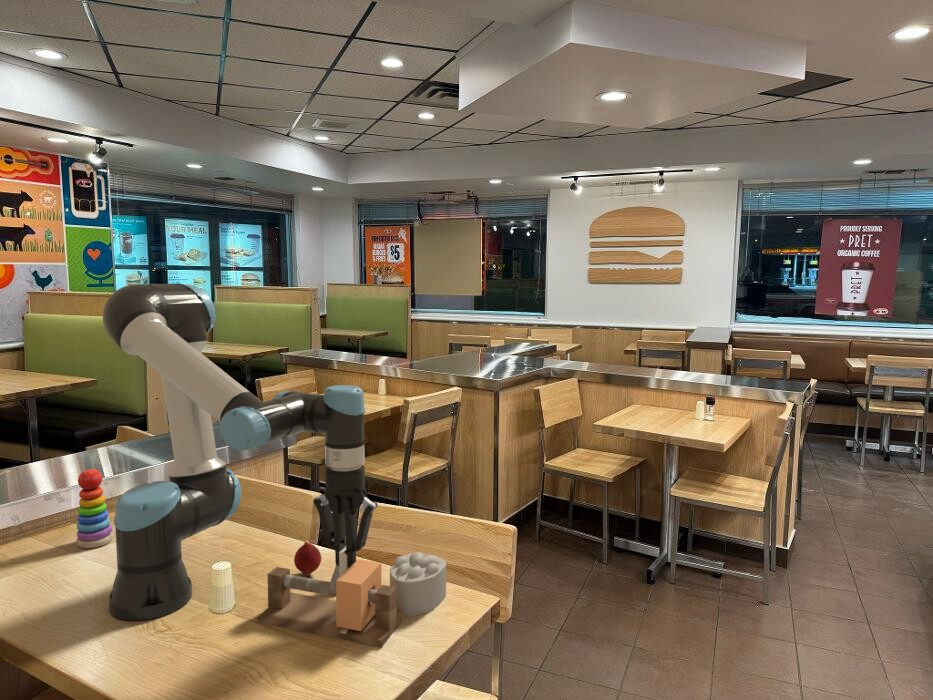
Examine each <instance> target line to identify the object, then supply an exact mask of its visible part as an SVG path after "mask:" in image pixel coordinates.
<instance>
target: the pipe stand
mask: <svg viewBox="0 0 933 700" xmlns="http://www.w3.org/2000/svg"><path fill="white" fill-rule="evenodd" d="M291 590H297V591H302V592H303V591H304V592H307V593H308V592H309V593H312V594H313V593H314V594H318V595H319V594H320V595H325V596H329V597H335V598H336V583H333V582H330V581H327V580H321V579H320V580H319V579H314V578H308V577H305V576H304V577H303V576H297V575H291V570H290V568H286V567H279V566H276V567H274V568H273V569H272V570H271V571H269V572H268V573H267V608H265V610H264V611H262V612H261V613H260V614H259V615H257V623H258V624H264V625H269V626H275V627H278V628H279V627H280V628H283V629H288V630H295V631H298V632H299V631H300V632H303V633H311V634H314V635H319V636H324V637H329V638H334V639H338V638H339V640H343V639H344V641H348V640H349V642H353V641H354V642H353V643H358V644H364V645H367V646H368V645H369V646H374V647H378V646H379V647H378V648H383V646H384V645H385V644H386V643H387V641H388V640H389V639H390V638H391V636H392V635H393V633H394V632H395V630H397V628H398V626H399V625H400V623H401V622H402V621H403V619H404V616H403V613H401V612H396V590H397V587H392V586H390V585H385V584H381V586H380V588H379V589H378V590H374V589H370V590H369V591H368V603H374V604H375V615H374V616H373V617H372V618H371V620H370V621H369V622H368V623H367V624H366V626H365V627H364V628H363V629H362V631H358V630H352V629H347V628H342V627H337V626H336V599H329V598H322V597H317V596H313V595H312V596H311V595H308V594H301V593H297V592H296V593H294V592H291Z"/></svg>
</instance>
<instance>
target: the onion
mask: <svg viewBox="0 0 933 700" xmlns="http://www.w3.org/2000/svg"><path fill="white" fill-rule="evenodd" d="M293 562H294V566H295V568H296V569H297V570H298V571H299V572H300V573H302V574H304V575H305V576H310V575H311V574H312V573H314V572H315V571H317V570H318V568H319V566H320V565H321V563H322V554H321V552H320V550H319V548H318V547H317V546H315V545H314V544H312V543H311V542H309V541H308V540H307V539H306V540H304V544H302V545H301V546H300V547H299V548H298V549H297V550H296V552H295V554H294V557H293Z"/></svg>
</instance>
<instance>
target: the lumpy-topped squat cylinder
mask: <svg viewBox="0 0 933 700" xmlns="http://www.w3.org/2000/svg"><path fill="white" fill-rule="evenodd" d="M389 586H392V587H397V590H396V612H401V613H403V617H415V616H416V617H417V616H420V615H424V614H426V613H429V612H432V611H434V610H435V609H436V608H437V607H438V606H440V604H442V602H443V601H444V600H445V599H446V595H447V562H446V560H445V559H444V558H441V557H439V556H436V555H435V554H427V553H423V552H421V551H415V552H413V553H407V554H405V555H404V554H403V555H400V556H398V557H396V558H395V560H394V563H393V564H392V565H391V566H390V570H389Z"/></svg>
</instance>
